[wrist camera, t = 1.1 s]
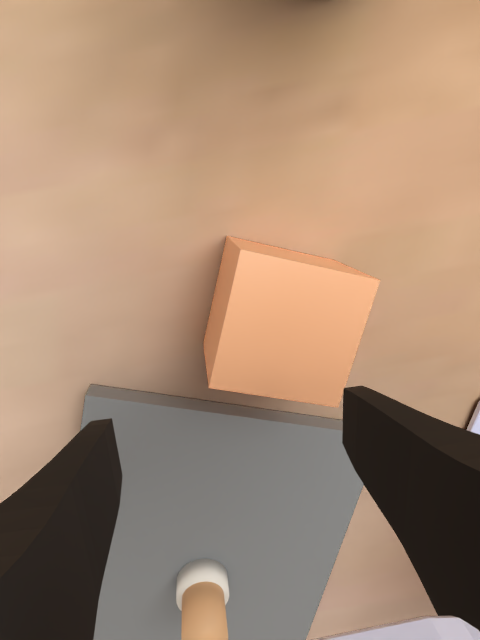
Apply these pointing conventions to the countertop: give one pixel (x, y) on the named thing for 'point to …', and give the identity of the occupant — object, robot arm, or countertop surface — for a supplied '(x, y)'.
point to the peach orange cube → (285, 323)
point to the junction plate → (220, 518)
